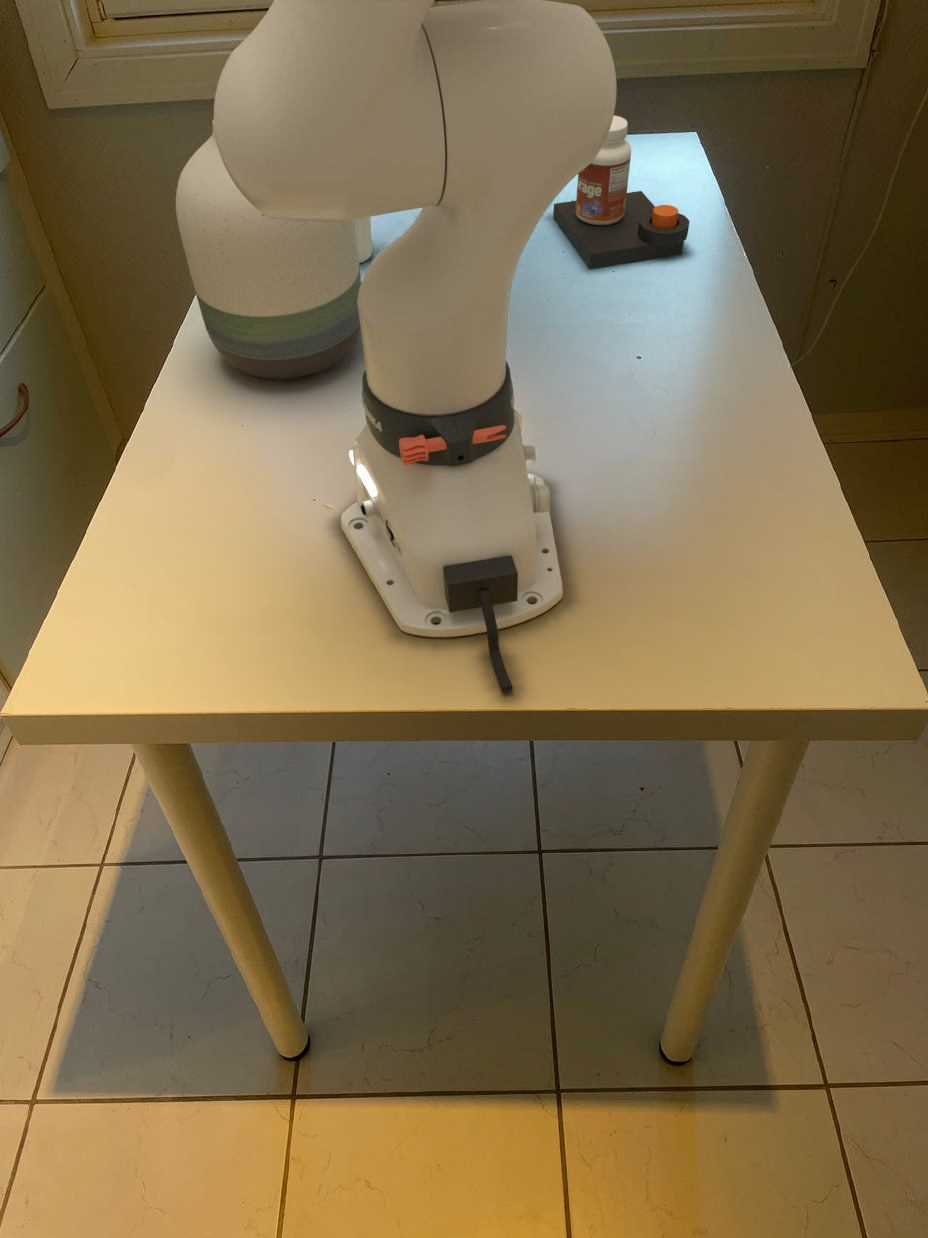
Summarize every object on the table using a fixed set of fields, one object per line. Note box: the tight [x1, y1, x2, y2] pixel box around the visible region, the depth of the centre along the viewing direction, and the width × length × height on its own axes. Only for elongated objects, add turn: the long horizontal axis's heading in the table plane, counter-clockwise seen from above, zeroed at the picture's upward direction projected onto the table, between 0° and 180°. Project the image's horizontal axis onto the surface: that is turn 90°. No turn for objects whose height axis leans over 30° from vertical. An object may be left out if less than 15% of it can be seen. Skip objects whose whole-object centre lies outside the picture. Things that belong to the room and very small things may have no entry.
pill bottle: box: [575, 115, 632, 225], centre depth 113 cm, size 6×6×11 cm
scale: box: [552, 190, 691, 270], centre depth 116 cm, size 15×13×4 cm
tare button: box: [651, 204, 679, 229], centre depth 112 cm, size 3×3×2 cm
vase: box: [175, 118, 362, 380], centre depth 93 cm, size 17×17×24 cm
